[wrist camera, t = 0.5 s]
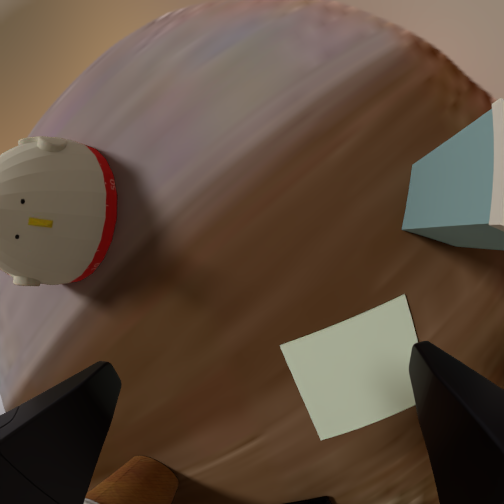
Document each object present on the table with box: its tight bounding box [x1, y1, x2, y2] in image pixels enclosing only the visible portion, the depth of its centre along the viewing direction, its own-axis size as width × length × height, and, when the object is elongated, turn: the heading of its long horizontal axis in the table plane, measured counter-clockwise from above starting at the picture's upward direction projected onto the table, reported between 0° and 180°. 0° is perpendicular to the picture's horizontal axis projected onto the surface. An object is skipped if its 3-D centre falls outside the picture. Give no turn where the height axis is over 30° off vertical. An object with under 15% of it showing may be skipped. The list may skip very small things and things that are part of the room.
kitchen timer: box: [0, 136, 117, 286], centre depth 17 cm, size 14×14×15 cm
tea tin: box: [402, 98, 504, 250], centre depth 12 cm, size 5×5×12 cm
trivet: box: [280, 294, 418, 440], centre depth 20 cm, size 10×10×1 cm
